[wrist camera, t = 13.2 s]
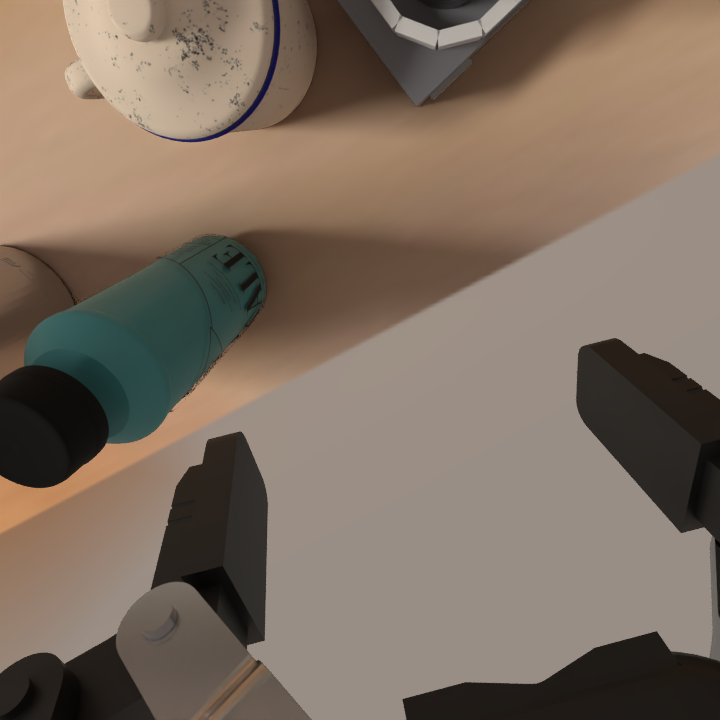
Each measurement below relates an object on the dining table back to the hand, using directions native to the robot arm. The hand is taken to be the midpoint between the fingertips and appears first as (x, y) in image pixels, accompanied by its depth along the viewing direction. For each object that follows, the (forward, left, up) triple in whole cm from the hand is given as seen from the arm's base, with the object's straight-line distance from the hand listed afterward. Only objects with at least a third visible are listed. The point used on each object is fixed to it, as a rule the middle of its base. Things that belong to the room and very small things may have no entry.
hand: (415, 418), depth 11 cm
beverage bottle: (-12, +6, -22) cm, 26 cm away
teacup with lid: (-3, +15, -22) cm, 27 cm away
